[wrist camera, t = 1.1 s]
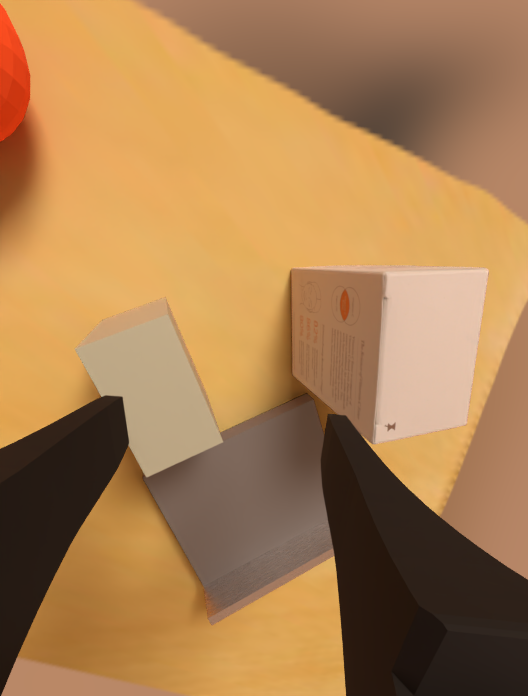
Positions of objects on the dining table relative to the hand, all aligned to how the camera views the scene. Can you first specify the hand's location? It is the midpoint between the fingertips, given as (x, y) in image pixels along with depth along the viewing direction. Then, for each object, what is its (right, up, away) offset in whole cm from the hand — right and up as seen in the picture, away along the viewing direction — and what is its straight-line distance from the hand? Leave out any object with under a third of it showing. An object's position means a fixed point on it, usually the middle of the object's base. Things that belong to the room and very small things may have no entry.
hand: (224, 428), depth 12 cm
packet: (-6, +2, +10) cm, 12 cm away
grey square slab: (+1, -8, +15) cm, 17 cm away
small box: (+6, +5, +13) cm, 15 cm away
